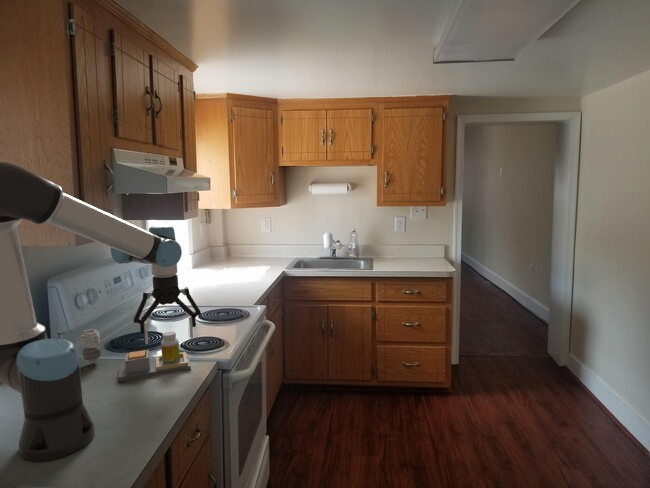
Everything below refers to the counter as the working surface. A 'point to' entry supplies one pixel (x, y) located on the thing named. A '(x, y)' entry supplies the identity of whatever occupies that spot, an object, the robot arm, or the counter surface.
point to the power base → (151, 367)
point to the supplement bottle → (170, 348)
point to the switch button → (137, 354)
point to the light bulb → (93, 351)
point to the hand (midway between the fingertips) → (169, 339)
